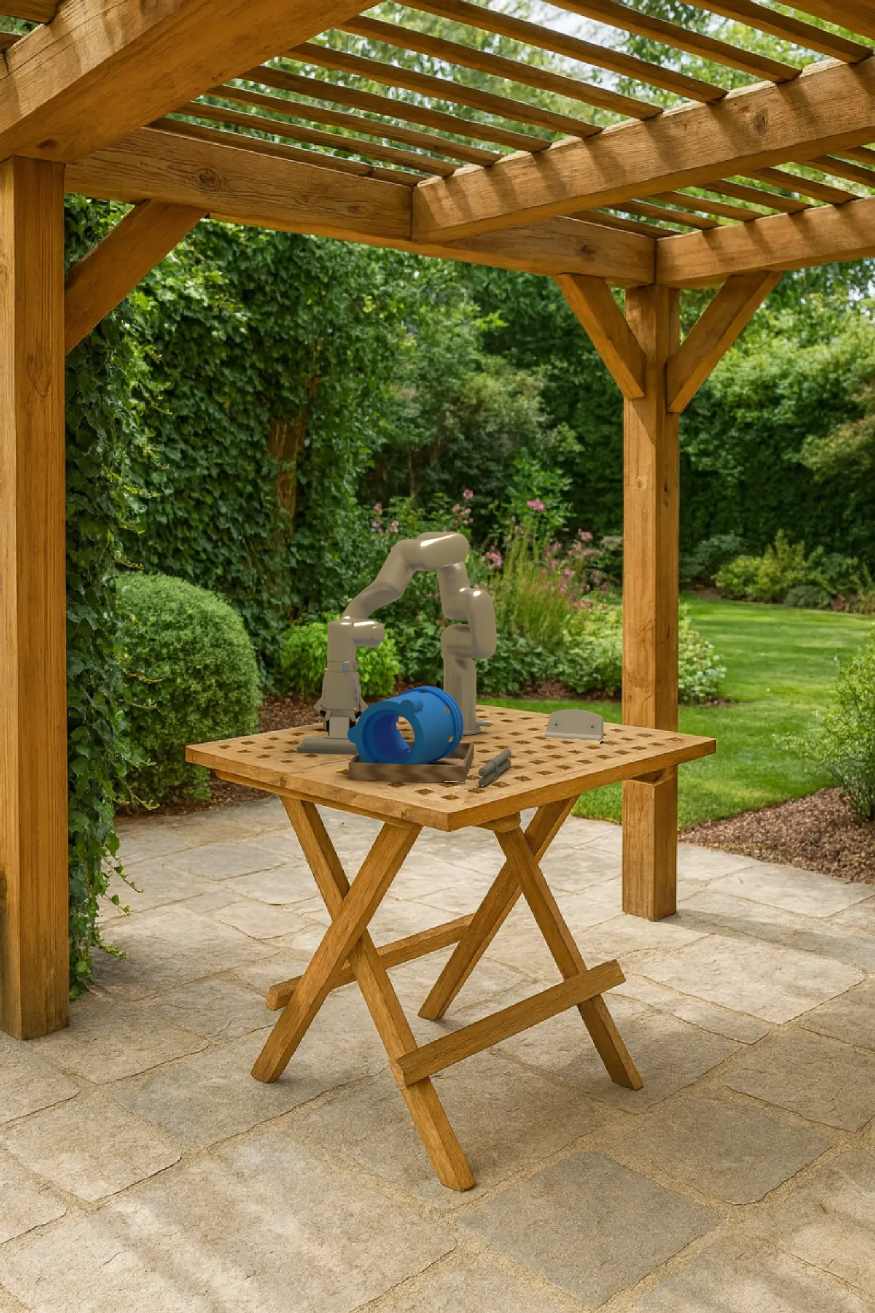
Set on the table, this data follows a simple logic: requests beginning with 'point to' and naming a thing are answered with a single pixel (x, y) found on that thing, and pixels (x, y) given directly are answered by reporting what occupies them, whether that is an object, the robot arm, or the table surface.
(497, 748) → the table surface
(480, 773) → the metal rod assembly
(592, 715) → the grey mounting bracket
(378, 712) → the tube
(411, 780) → the brown wooden tray
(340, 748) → the rail board
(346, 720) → the block
